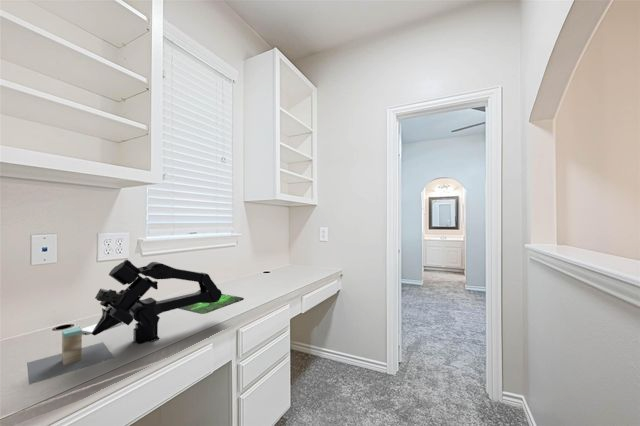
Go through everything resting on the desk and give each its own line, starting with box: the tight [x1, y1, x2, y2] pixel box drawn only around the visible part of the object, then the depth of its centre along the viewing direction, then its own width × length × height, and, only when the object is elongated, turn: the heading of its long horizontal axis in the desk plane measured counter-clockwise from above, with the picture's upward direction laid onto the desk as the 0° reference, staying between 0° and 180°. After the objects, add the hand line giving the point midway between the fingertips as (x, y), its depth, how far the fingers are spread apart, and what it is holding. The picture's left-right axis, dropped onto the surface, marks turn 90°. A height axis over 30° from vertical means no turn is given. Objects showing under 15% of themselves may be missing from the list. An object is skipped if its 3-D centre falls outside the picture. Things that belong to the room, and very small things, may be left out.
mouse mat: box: [178, 293, 244, 315], centre depth 141 cm, size 27×22×1 cm
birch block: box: [61, 326, 83, 365], centre depth 83 cm, size 4×4×9 cm
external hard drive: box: [81, 322, 126, 335], centre depth 109 cm, size 2×8×12 cm
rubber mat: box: [27, 342, 115, 385], centre depth 83 cm, size 18×16×1 cm
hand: (92, 334), depth 87 cm, fingers closed
